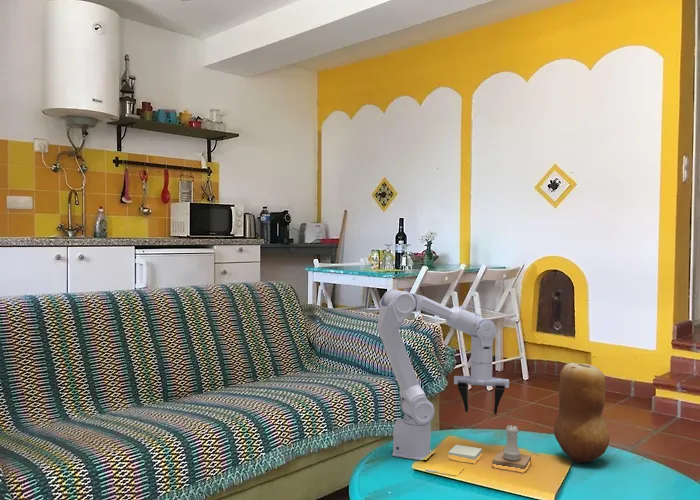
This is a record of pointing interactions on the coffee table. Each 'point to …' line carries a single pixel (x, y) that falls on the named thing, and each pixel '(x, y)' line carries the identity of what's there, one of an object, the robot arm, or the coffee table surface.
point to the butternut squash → (581, 413)
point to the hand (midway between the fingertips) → (480, 412)
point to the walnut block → (520, 463)
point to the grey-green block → (465, 451)
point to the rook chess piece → (511, 444)
